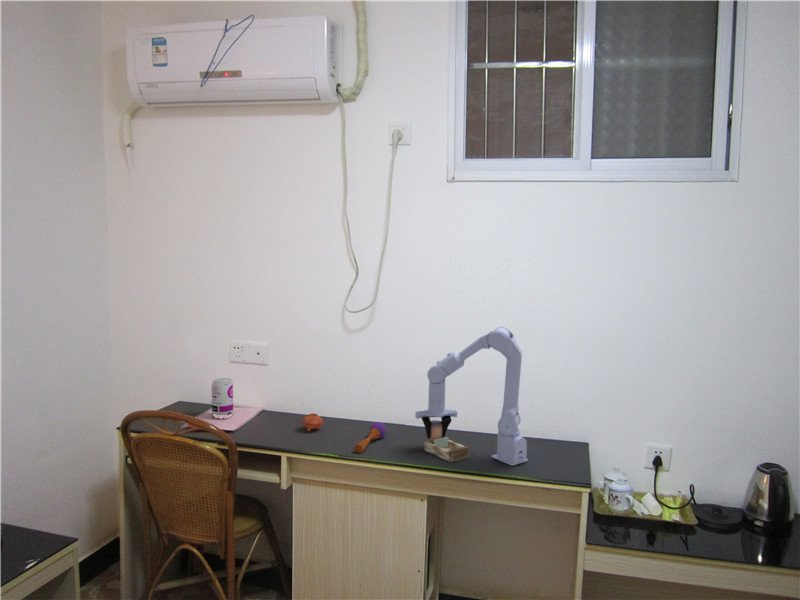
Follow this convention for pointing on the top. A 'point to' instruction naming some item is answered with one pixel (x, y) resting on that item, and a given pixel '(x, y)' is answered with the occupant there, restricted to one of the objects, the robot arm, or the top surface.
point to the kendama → (371, 436)
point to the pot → (312, 421)
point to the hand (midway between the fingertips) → (435, 437)
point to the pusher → (441, 442)
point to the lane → (448, 451)
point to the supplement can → (222, 396)
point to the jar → (435, 430)
